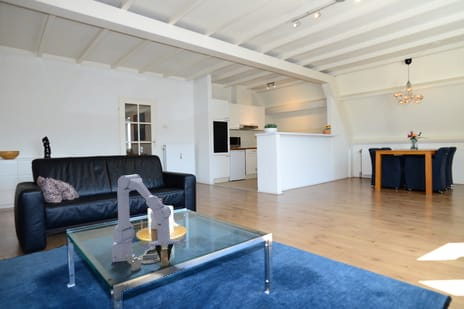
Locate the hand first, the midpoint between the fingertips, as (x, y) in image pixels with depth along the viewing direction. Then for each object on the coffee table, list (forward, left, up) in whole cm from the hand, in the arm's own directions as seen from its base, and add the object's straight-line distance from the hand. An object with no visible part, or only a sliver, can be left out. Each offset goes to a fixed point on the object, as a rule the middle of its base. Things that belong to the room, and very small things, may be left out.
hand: (165, 260), depth 134 cm
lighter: (-14, -4, -2) cm, 15 cm away
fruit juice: (-6, +26, -2) cm, 27 cm away
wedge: (0, 0, -2) cm, 2 cm away
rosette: (-8, +9, -2) cm, 12 cm away
